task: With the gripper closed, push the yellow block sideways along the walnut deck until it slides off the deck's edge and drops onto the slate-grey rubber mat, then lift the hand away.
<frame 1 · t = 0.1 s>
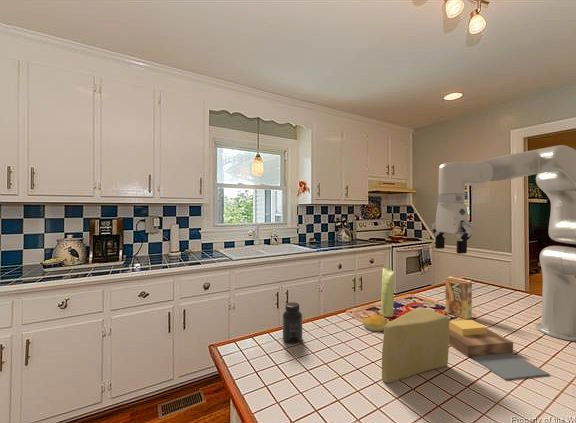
hand: (450, 250, 90), 31 cm above the countertop, tool pointing down, fingers open, 9 cm apart
cheese: (410, 370, 76), on the countertop
candy box: (458, 315, 114), on the countertop
deck: (471, 343, 90), on the countertop
mat: (508, 366, 78), on the countertop
supplement bottle: (292, 339, 93), on the countertop
bread roll: (375, 327, 103), on the countertop
yellow block: (467, 330, 92), point 3 cm above the countertop, touching deck
tube: (387, 315, 113), on the countertop
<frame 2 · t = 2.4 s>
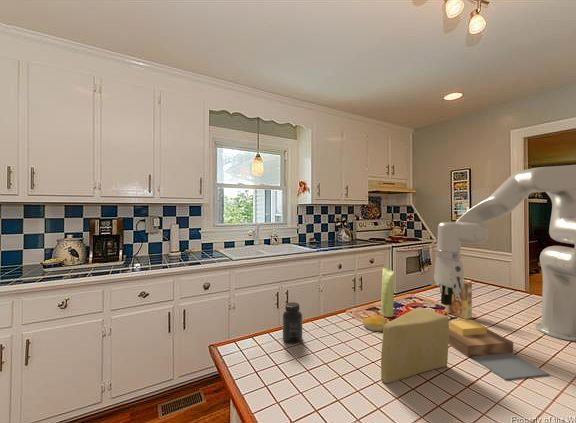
hand: (446, 304, 101), 9 cm above the countertop, tool pointing down, fingers closed
nothing on the countertop moved.
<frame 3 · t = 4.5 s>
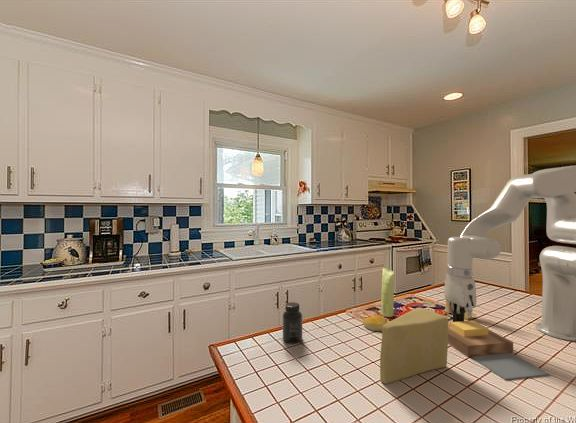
hand: (458, 323, 96), 4 cm above the countertop, tool pointing down, fingers closed
yellow block: (468, 331, 91), point 3 cm above the countertop, touching deck, gripper
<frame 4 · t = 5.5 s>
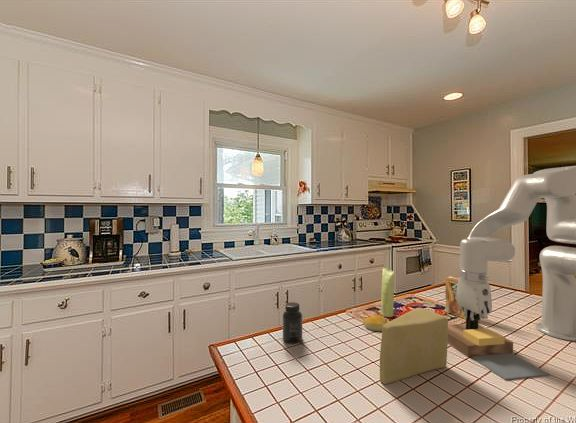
hand: (471, 330, 90), 4 cm above the countertop, tool pointing down, fingers closed
yellow block: (483, 340, 85), point 4 cm above the countertop, touching gripper
everything else where it was.
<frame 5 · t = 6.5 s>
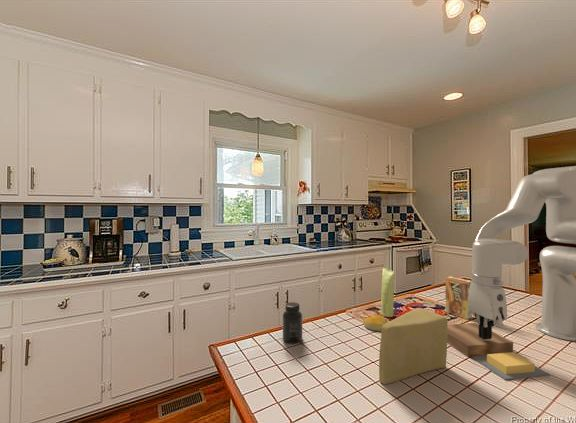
hand: (485, 337, 85), 4 cm above the countertop, tool pointing down, fingers closed
yellow block: (510, 358, 77), point 3 cm above the countertop, tilted 180°, touching mat
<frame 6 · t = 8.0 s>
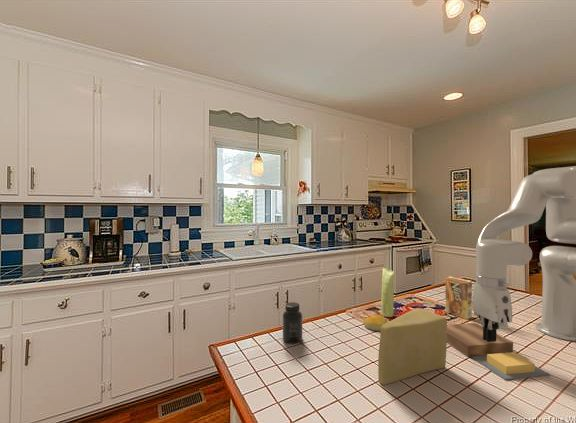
hand: (489, 340, 84), 4 cm above the countertop, tool pointing down, fingers closed
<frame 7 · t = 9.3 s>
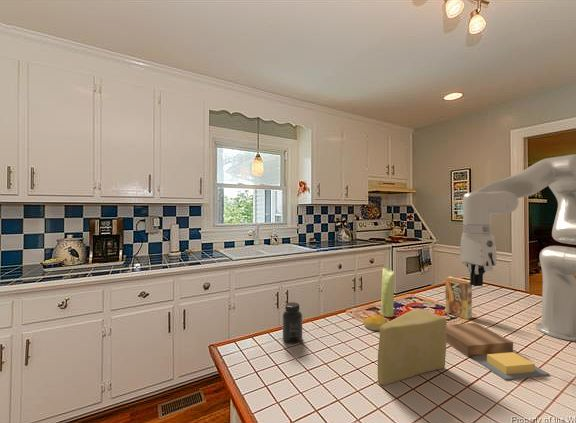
hand: (476, 285, 89), 20 cm above the countertop, tool pointing down, fingers closed
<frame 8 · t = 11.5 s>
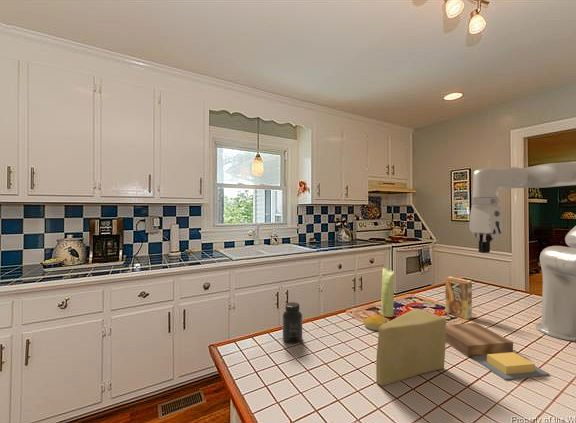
hand: (484, 252, 99), 29 cm above the countertop, tool pointing down, fingers closed
at the end: yellow block point 2.6 cm above the countertop; yellow block inside the target area on the mat (1.0 cm from its centre), point 2.6 cm above the mat's base; yellow block touching mat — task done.
